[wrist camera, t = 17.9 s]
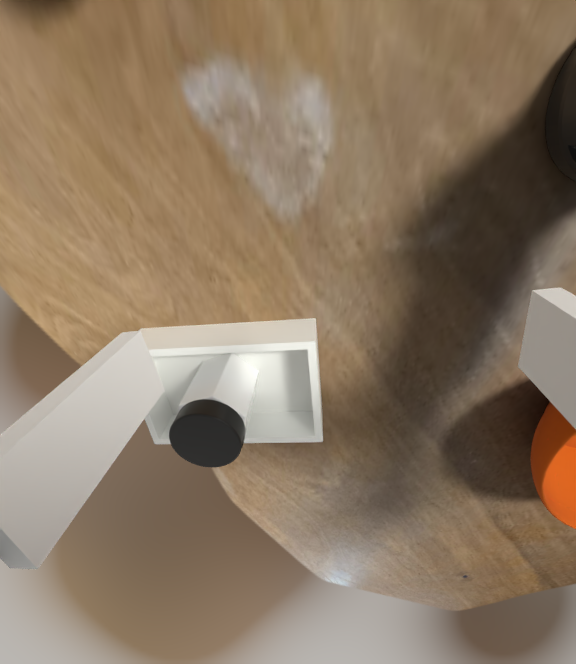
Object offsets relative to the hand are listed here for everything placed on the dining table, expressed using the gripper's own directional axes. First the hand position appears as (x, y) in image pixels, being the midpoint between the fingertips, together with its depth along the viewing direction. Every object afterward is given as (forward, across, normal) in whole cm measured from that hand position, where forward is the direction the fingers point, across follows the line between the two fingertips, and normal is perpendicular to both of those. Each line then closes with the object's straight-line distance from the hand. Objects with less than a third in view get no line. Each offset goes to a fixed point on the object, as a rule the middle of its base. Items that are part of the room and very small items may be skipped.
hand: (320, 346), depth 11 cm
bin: (+28, +15, +19) cm, 37 cm away
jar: (+27, +16, +19) cm, 37 cm away
